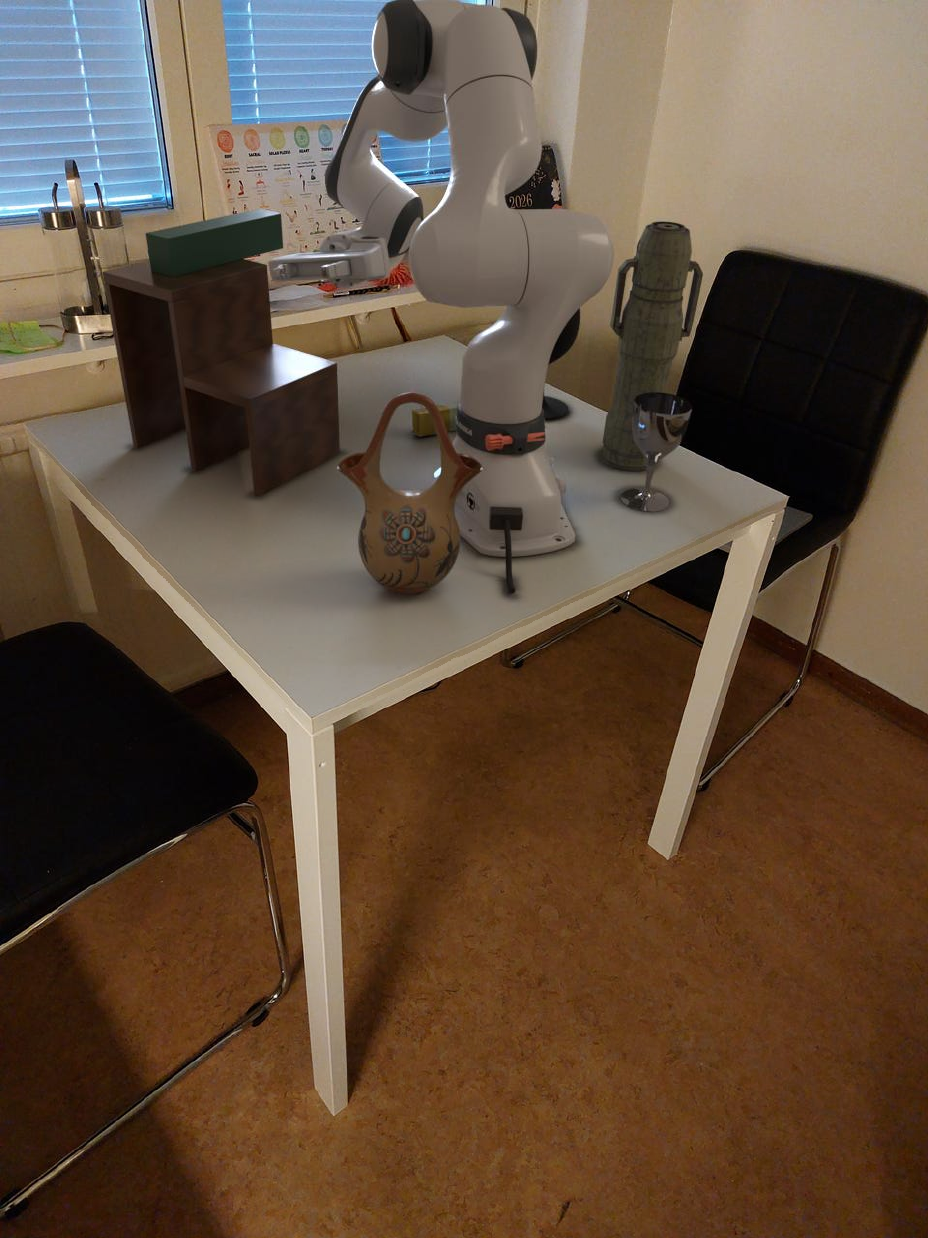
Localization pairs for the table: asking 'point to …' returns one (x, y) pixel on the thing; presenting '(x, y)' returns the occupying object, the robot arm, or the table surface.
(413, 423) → the medication box
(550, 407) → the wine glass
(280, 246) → the carton
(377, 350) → the table surface
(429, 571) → the ceramic vessel
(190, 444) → the step shelf
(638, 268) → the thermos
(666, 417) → the wine glass
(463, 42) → the robot arm
